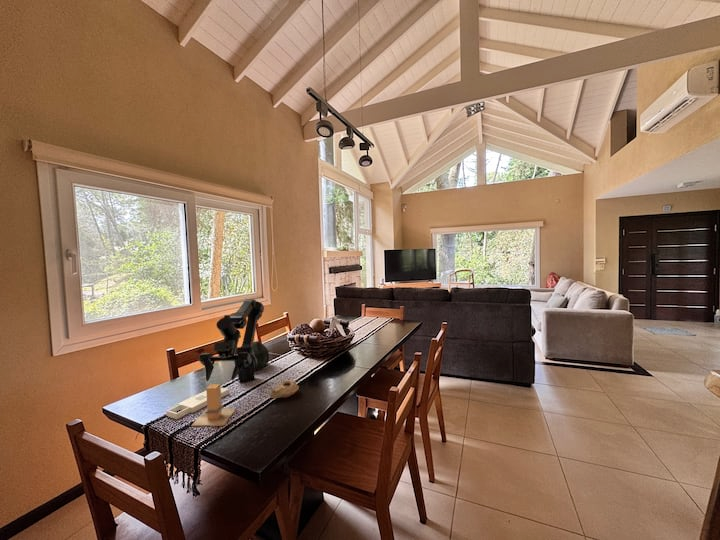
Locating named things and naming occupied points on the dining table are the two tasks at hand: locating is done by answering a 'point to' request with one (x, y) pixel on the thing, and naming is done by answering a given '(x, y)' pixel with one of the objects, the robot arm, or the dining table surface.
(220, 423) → the cork mat
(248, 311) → the robot arm
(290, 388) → the pottery oil lamp
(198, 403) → the power strip
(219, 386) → the tan tall block
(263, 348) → the squash
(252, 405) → the dining table surface
